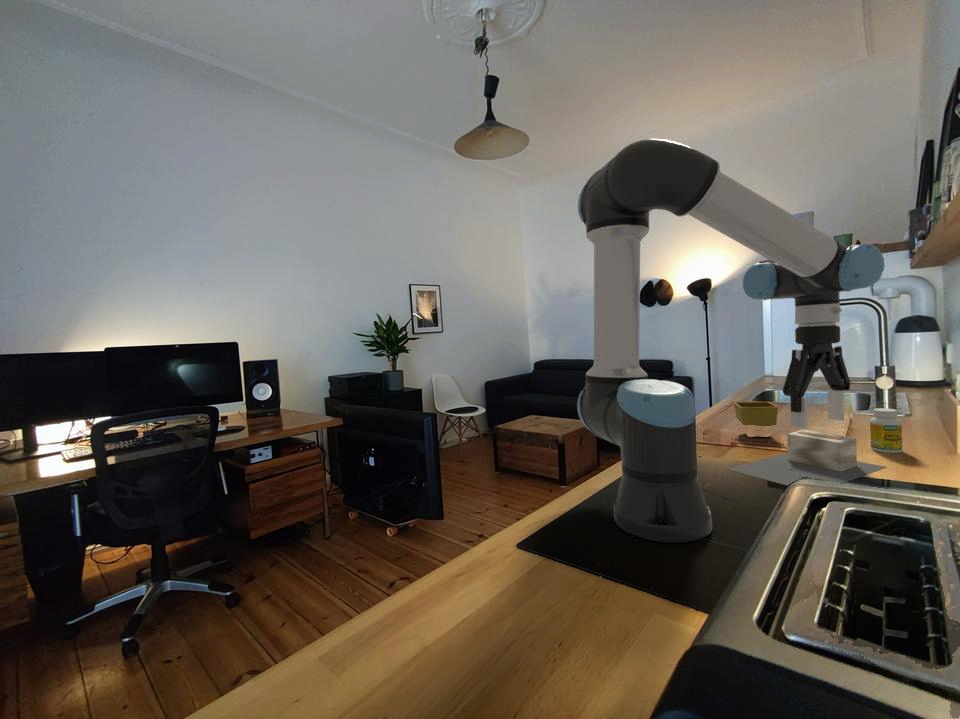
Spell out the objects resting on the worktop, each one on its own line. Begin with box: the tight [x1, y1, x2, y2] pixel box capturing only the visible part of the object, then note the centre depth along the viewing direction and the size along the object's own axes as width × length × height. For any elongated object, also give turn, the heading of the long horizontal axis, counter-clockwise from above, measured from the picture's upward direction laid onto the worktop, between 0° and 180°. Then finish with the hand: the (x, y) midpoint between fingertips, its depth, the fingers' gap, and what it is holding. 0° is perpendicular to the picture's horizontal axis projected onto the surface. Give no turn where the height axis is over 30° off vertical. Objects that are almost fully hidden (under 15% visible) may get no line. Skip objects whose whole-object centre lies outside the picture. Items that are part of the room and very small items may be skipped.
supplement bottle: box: [869, 407, 903, 454], centre depth 98 cm, size 5×5×10 cm
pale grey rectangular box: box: [786, 429, 858, 472], centre depth 92 cm, size 10×6×6 cm, turn 24°
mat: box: [727, 451, 887, 487], centre depth 89 cm, size 25×17×1 cm
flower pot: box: [733, 401, 779, 426], centre depth 117 cm, size 9×9×9 cm
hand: (817, 423), depth 91 cm, fingers open, 13 cm apart
